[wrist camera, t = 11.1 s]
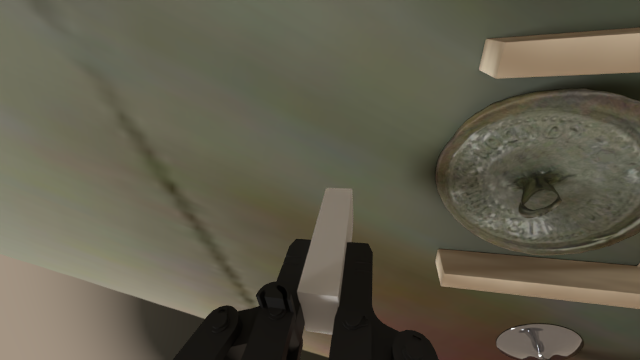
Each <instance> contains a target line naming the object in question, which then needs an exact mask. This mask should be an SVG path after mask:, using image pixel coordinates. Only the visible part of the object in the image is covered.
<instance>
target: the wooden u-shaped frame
mask: <svg viewBox="0 0 640 360" xmlns="http://www.w3.org/2000/svg"><path fill="white" fill-rule="evenodd" d="M479 70H480V71H482V72H484V73H486V74H488V75H490V76H492V77H494V78H496V79H498V78H520V77H543V76H566V75H588V74H611V73H634V72H640V27H639V28H626V29H612V30H599V31H585V32H572V33H558V34H545V35H531V36H518V37H504V38H491V39H486V41H485V45H484V50H483V54H482V58H481V63H480V67H479ZM435 262H436V266H437V271H438V275H439V279H440V284H441V286H445V287H454V288H462V289H471V290H480V291H489V292H497V293H506V294H515V295H523V296H532V297H541V298H550V299H558V300H567V301H576V302H584V303H593V304H602V305H611V306H619V307H628V308H637V309H640V263H639V265H638V266H631V265H620V264H608V263H596V262H585V261H573V260H562V259H550V258H538V257H527V256H515V255H504V254H492V253H480V252H469V251H457V250H445V249H438V252H437V256H436V260H435Z"/></svg>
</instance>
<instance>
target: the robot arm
mask: <svg viewBox="0 0 640 360" xmlns="http://www.w3.org/2000/svg"><path fill="white" fill-rule="evenodd" d="M352 231H353V194H352V189H345V188H326V190H325V194H324V197H323V201H322V204H321V208H320V212H319V215H318V219H317V222H316V226H315V229H314V233H313V236H312V240H306V239H296V240H295V241H294V242H293V243H292V244H291V245H290V246H289V249H288V252H287V254H286V257H285V260H284V262H283V265H282V268H281V271H280V273H279V276H278V279H277V282H271V283H269V284H266V285H265V286H263V287H262V288H261V289H260V290H259V291H258V293H257V295H256V297H257V300H258V303H259V305H260V306H258V307H255V308H252V309H247V310H242V311H237V310H236V309H235V308H234V307H232V306H227V305H226V306H222V307H219V308H217V309H215V310H213V311H212V312H211V313H210V314H209V315H208V316H207V317H206V319H205V320H204V321H203V322H202V324H201V325H200V326H199V328H198V329H197V330H196V331H195V332H194V334H193V335H192V336H191V338H190V339H189V340H188V341H187V343H186V344H185V345H184V346H183V348H182V349H181V350H180V351H179V353H178V354H177V355H176V356H175V358H174V359H173V360H300V356H301V351H302V347H303V339H302V334H303V329H304V325H305V329H306V331H312V332H318V333H325V334H332V340H331V347H330V355H329V360H439V359H438V357H437V354H436V352H435V349H434V348H433V346H432V344H431V343H430V341H429V340H428V339H427V338H426V337H425V336H424V335H423V334H420V333H418V332H416V331H413V330H405V331H402V332H399V331H397V330H394V329H392V328H390V327H388V326H387V325H385V324H383V323H382V322H381V321H380V320H379V319H378V318H377V316H376V315H375V313H374V311H373V308H372V258H373V252H372V250H371V248H370V246H369V244H367V243H353V242H351V240H352Z"/></svg>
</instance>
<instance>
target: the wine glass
mask: <svg viewBox="0 0 640 360" xmlns="http://www.w3.org/2000/svg"><path fill="white" fill-rule="evenodd" d="M496 346H497V348H498V349H499V350H500V351H501V352H502V353H503V354H504V355H506V356H508V357H510V358H513V359H516V360H565V359H568V358H570V357H573V356H574V355H576V354H577V353H579V352H580V351H581V349H582V347H583V340H582V338H581V337H580V336H579V335H578V334H577V333H576V332H574V331H572V330H570V329H568V328H565V327H562V326H558V325H552V324H526V325H520V326H516V327H513V328H510V329H508V330H506V331H504V332H502V333H501V334H500V335H499V336H498V338H497V340H496Z"/></svg>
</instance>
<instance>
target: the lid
mask: <svg viewBox="0 0 640 360" xmlns="http://www.w3.org/2000/svg"><path fill="white" fill-rule="evenodd" d="M435 179H436V185H437V189H438V193H439V195H440V196H441V199H442V202H443V204H444V206H445V207H446V208H447V209H448V211H449V212H450V213H451V214H452V216H453V217H454V218H455V219H456V220H457V221H458V222H459V223H460V224H462V225H463V226H464V227H465V228H466V229H468V230H469V231H470V232H472V233H473V234H474V235H476V236H478V237H480V238H481V239H483V240H485V241H487V242H490V243H492V244H494V245H496V246H499V247H502V248H505V249H508V250H511V251H515V252H522V253H527V254H531V255H541V256H545V255H563V254H575V253H583V252H586V251H590V250H597V249H600V248H603V247H606V246H610V245H613V244H615V243H618V242H620V241H622V240H624V239H626V238H629V237H631V236H634V235H635V234H637V233H639V232H640V101H638V100H635V99H631V98H629V97H626V96H623V95H620V94H615V93H611V92H606V91H596V90H591V89H586V88H579V89H560V90H551V91H537V92H533V93H528V94H524V95H519V96H514V97H510V98H508V99H505V100H502V101H498V102H495V103H492V104H490V105H489V106H487V107H486V108H484V109H482V110H481V111H479V112H477V113H476V114H474V115H473V116H472V117H470V118H469V119H468V120H466V121H465V122H464V123H463V125H462V126H461V127H460V128H459V129H458V130H457V131H456V133H455V134H454V136H453V137H452V138H451V140H450V141H449V142H448V143H447V144H446V146H445V147H444V149H443V150H442V152H441V154H440V156H439V158H438V161H437V167H436V177H435Z"/></svg>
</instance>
